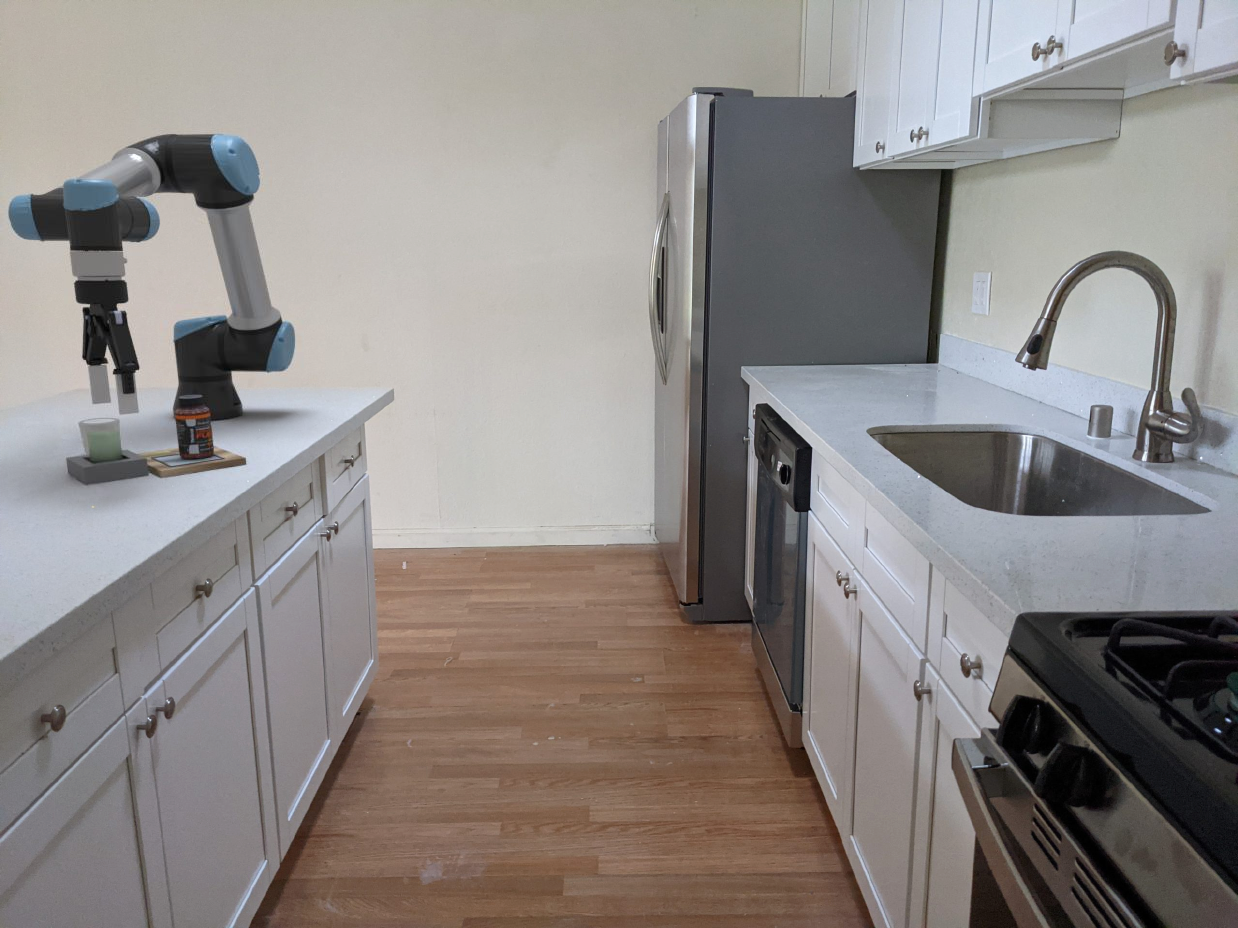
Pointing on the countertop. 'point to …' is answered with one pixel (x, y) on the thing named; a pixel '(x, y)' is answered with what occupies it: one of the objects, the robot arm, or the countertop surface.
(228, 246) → the robot arm
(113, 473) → the button housing
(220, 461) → the board
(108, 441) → the button
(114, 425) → the shot glass
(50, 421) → the countertop surface
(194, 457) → the supplement bottle
